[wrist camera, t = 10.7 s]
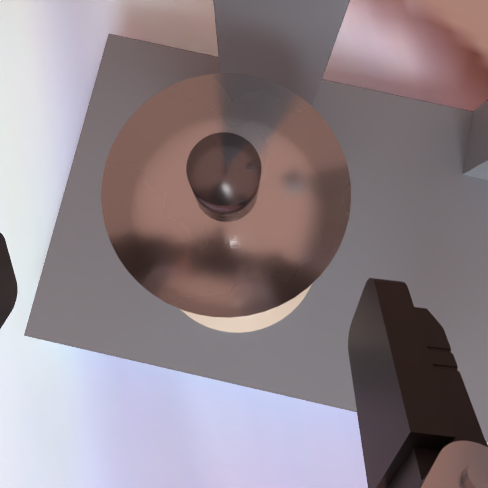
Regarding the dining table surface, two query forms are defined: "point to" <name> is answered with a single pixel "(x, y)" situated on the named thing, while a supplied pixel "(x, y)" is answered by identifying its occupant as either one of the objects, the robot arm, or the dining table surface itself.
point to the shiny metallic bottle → (226, 195)
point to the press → (350, 250)
